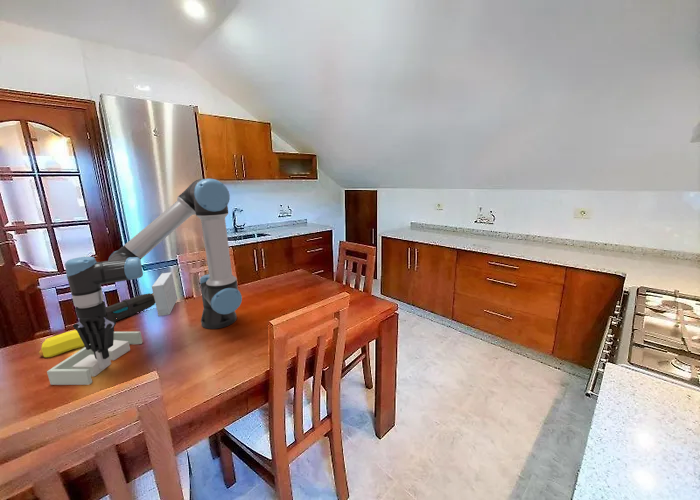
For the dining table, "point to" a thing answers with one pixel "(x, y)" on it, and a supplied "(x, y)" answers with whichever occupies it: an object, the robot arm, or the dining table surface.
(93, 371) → the tile
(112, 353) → the tile
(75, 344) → the yellow bevelled bar
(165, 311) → the skincare box
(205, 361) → the dining table surface
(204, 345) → the dining table surface
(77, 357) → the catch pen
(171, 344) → the dining table surface
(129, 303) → the black handheld tool
